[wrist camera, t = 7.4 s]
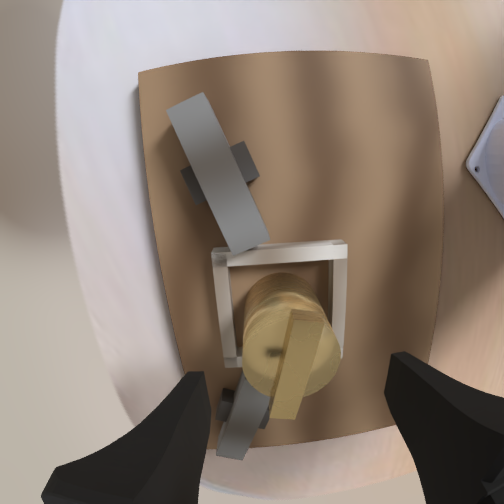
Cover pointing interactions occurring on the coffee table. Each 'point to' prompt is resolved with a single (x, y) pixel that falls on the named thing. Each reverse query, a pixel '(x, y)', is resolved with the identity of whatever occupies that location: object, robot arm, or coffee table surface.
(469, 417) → the robot arm
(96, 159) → the coffee table surface
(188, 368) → the tan wooden flat board
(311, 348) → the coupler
